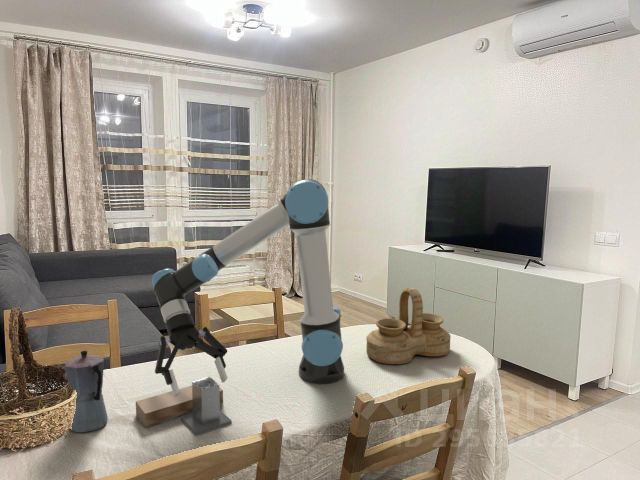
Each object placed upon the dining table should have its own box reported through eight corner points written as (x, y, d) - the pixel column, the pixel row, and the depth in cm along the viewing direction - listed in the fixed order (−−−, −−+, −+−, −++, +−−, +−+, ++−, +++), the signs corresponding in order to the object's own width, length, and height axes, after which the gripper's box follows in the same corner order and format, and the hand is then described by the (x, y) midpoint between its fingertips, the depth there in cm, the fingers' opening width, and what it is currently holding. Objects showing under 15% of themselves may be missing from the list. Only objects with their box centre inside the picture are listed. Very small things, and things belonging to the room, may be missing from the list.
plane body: (211, 392, 141) (210, 380, 140) (223, 403, 135) (222, 390, 134) (136, 415, 127) (135, 401, 127) (145, 428, 121) (145, 413, 121)
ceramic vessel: (385, 371, 159) (388, 300, 155) (356, 352, 175) (359, 287, 171) (460, 355, 174) (465, 290, 170) (428, 339, 190) (431, 279, 186)
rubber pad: (215, 407, 132) (215, 405, 132) (231, 423, 124) (231, 420, 124) (180, 418, 126) (180, 416, 126) (196, 435, 118) (196, 432, 118)
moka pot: (92, 408, 130) (89, 340, 127) (124, 426, 122) (120, 353, 119) (57, 422, 123) (52, 350, 120) (88, 443, 114) (83, 366, 111)
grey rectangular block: (192, 416, 126) (192, 381, 124) (210, 410, 129) (209, 376, 127) (202, 426, 121) (201, 389, 120) (219, 420, 124) (219, 384, 123)
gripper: (214, 317, 144) (238, 380, 135) (130, 334, 128) (151, 406, 119) (221, 304, 139) (247, 369, 130) (136, 320, 124) (158, 395, 114)
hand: (201, 387), depth 125 cm, fingers open, 13 cm apart
